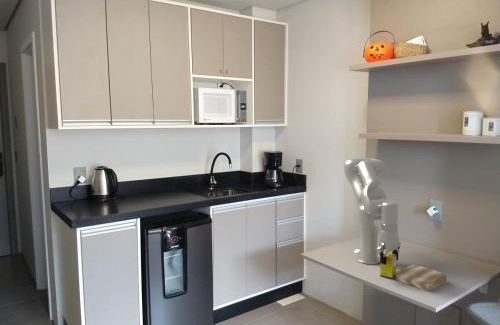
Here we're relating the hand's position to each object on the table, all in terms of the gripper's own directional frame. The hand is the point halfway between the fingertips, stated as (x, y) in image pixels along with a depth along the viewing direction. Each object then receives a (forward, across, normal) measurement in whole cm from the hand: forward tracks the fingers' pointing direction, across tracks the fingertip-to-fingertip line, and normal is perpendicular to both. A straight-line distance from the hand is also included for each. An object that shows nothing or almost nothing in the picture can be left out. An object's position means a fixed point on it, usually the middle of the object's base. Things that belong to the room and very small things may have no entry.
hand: (389, 261), depth 186 cm
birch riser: (+8, -8, +12) cm, 16 cm away
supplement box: (+8, -1, -1) cm, 8 cm away
